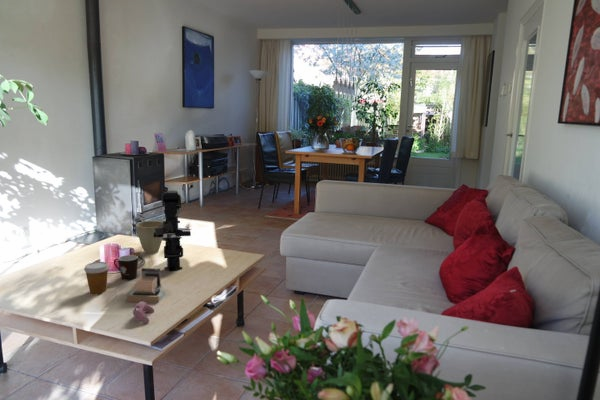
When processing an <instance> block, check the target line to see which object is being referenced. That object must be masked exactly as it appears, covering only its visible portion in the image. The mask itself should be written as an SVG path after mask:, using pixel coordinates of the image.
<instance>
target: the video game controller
mask: <svg viewBox="0 0 600 400" xmlns="http://www.w3.org/2000/svg"><path fill="white" fill-rule="evenodd" d="M147 313H151V314H152V313H155V308H153V307H152V306H151V305H149V303H145V302H136V304H135V305H134V309H133V310H132V315H133V318H135V319H136V320H138V321H139V322H141V323H143V324H149V323H150V319H149V317H147V316H146V315H147Z"/></svg>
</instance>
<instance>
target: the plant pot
mask: <svg viewBox="0 0 600 400" xmlns="http://www.w3.org/2000/svg"><path fill="white" fill-rule="evenodd" d="M135 225H136V226H135V227H136V231H137V237H138V239H139V242H140V243H139V244H141V247H142V250H143V251H144V254H148V255H150V254H152V255H153V254H157V253H159V250H160V248H161V244H162V242H163V239H162V238H163V237H154V232H155V228H156V227H159V226H161V225H163V221H160V220H159V221H158V220H149V221H148V220H147V221H141V222H140V221H139V222H138V223H136V224H135Z"/></svg>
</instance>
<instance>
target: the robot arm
mask: <svg viewBox="0 0 600 400" xmlns="http://www.w3.org/2000/svg"><path fill="white" fill-rule="evenodd" d="M162 207H164V211H163V213H164V216H165V217H164V221H162V222H163V225H161V226H159V227H156V228H155V232H154V237H163V238H162V240H164V241H165V243H164V244H165V245H164V246H163V255H164V256H163V259H166V266H165V267H164V269H165V270H167V271H169V272H175V271H178V270H182V269H183V267H182V266H181V261H180V260H181V258H182V259H183V257H184V248H183V247H182V246H183V245H182V244H181V241H180V240H181V239H183V237H191V234H192V233H191V231H190V229H179V224H180V223H181V221H180V220H179V215H180V212H181V208H182V196H181V195H180V194H179V192H178V191H177V190H167V191H166V192H163V194H162Z"/></svg>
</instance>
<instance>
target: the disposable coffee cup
mask: <svg viewBox="0 0 600 400" xmlns="http://www.w3.org/2000/svg"><path fill="white" fill-rule="evenodd" d="M109 268H110V266H109V264H108V262H104V261H95V262H90V263H87V264H86V265H85V266H84V269H83V270H84V272H85V275H86V281H87V285H88V290H89V294H90V295H102V294H103V293H105V292H106V291H107V284H108V270H109Z"/></svg>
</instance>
